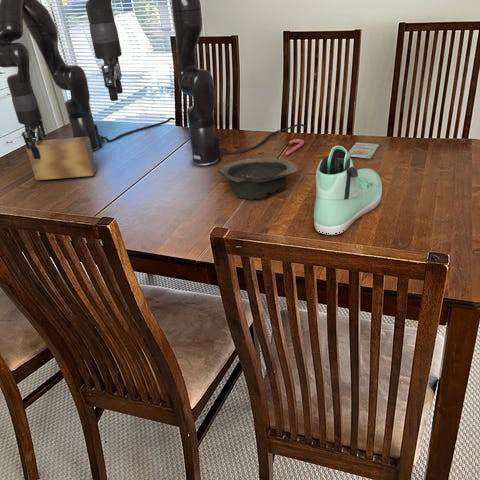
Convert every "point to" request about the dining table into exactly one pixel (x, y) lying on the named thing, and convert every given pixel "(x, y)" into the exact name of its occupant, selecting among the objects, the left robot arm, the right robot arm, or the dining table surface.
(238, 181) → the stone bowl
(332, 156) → the sneaker
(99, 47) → the right robot arm
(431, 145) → the dining table surface
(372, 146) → the baking ingredient package
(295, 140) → the candy cane
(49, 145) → the box
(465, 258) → the dining table surface
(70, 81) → the left robot arm
